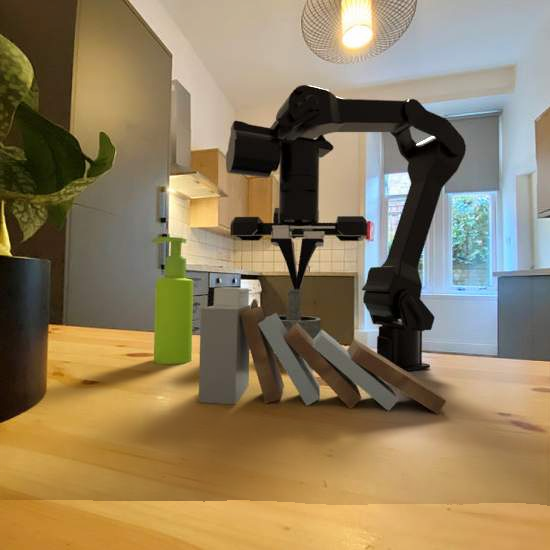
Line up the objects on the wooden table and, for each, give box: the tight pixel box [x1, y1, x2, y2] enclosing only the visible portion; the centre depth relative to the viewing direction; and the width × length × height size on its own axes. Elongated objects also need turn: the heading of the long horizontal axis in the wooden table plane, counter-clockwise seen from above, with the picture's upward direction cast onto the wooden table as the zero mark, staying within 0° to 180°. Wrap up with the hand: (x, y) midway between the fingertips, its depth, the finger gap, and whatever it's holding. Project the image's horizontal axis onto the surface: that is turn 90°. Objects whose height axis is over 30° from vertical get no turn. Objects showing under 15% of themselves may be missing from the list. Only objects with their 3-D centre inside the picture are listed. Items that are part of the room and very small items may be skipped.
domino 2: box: [258, 312, 321, 407], centre depth 39 cm, size 2×5×10 cm
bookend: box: [198, 304, 251, 405], centre depth 40 cm, size 4×7×10 cm, turn 173°
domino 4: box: [313, 329, 400, 412], centre depth 38 cm, size 2×5×10 cm
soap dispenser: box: [150, 236, 194, 365], centre depth 57 cm, size 6×7×20 cm
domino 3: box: [284, 323, 362, 409], centre depth 39 cm, size 2×5×10 cm
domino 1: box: [240, 305, 285, 404], centre depth 40 cm, size 2×5×10 cm, turn 173°
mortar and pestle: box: [264, 287, 322, 361], centre depth 61 cm, size 11×9×12 cm
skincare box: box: [213, 287, 250, 306], centre depth 57 cm, size 6×4×12 cm
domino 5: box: [346, 338, 447, 415], centre depth 38 cm, size 2×5×10 cm
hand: (297, 289), depth 50 cm, fingers closed
